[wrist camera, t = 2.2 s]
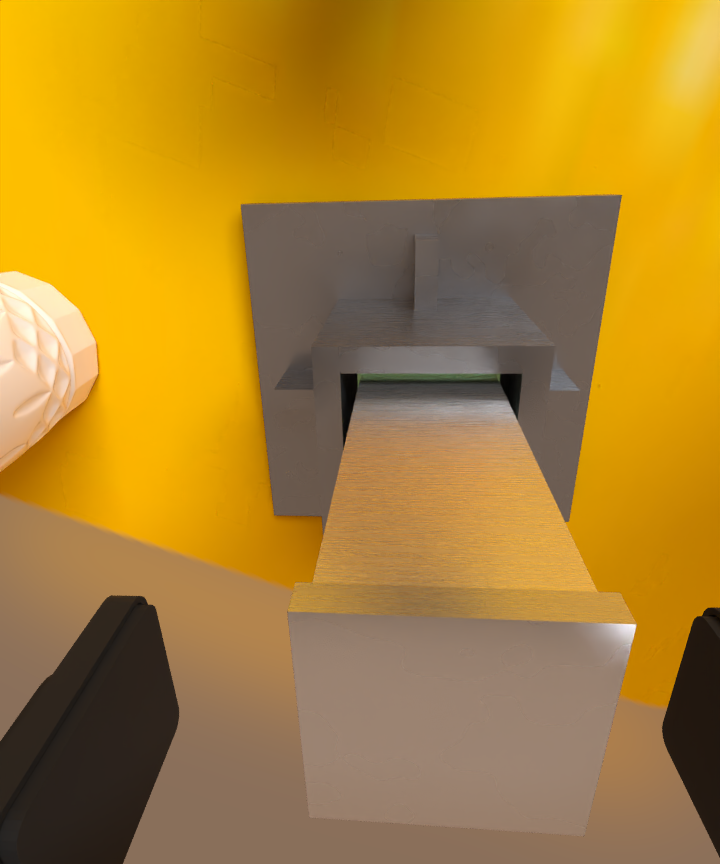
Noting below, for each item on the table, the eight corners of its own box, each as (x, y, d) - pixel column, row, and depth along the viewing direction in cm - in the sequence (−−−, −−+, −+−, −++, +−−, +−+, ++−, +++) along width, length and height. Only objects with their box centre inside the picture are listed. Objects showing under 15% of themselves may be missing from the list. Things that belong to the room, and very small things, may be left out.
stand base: (611, 194, 20) (725, 200, 13) (563, 510, 26) (623, 635, 19) (247, 203, 21) (167, 213, 14) (278, 504, 27) (232, 620, 20)
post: (481, 326, 22) (636, 624, 7) (473, 431, 24) (584, 836, 9) (366, 327, 22) (287, 611, 7) (368, 430, 24) (308, 817, 9)
